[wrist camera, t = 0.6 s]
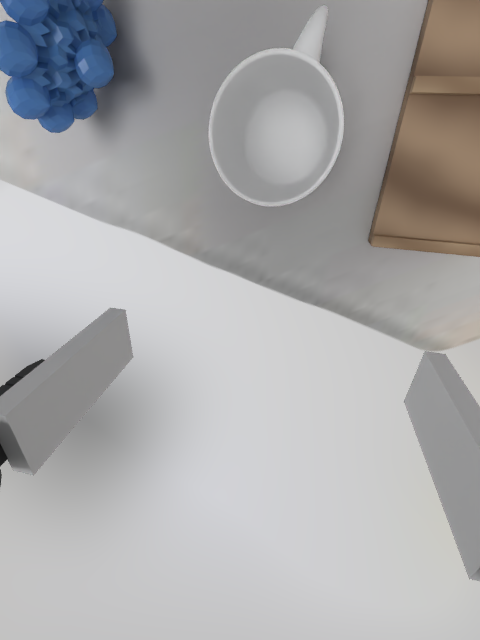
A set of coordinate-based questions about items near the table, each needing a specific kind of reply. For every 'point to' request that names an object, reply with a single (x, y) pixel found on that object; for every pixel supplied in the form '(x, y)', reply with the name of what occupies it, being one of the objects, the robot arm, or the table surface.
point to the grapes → (56, 58)
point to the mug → (278, 121)
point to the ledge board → (437, 141)
